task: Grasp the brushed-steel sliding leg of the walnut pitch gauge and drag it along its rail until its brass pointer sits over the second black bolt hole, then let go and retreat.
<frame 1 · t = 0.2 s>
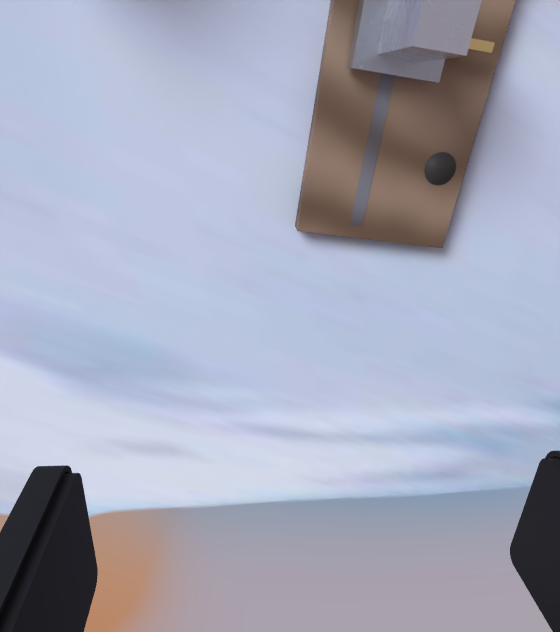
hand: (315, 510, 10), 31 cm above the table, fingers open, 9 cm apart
sliding leg: (444, 31, 28), point 6 cm above the table, slide at 0.0 cm
hole gauge board: (413, 24, 33), on the table
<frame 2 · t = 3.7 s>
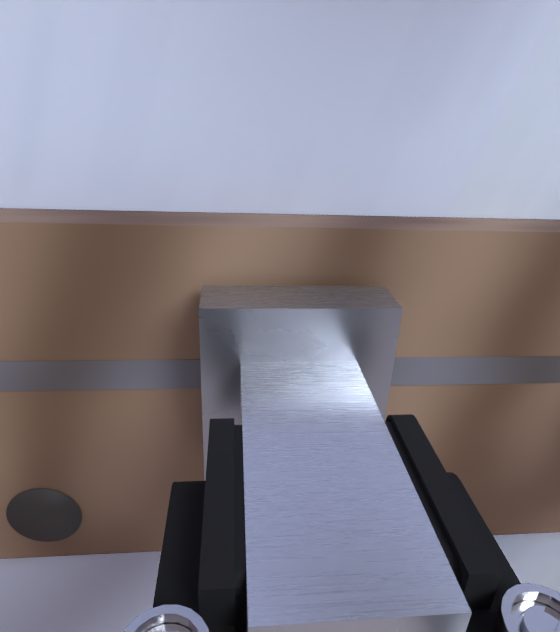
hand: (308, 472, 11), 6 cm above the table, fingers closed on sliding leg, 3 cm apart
sliding leg: (305, 528, 11), point 6 cm above the table, slide at 0.0 cm, touching gripper
hole gauge board: (310, 386, 17), on the table
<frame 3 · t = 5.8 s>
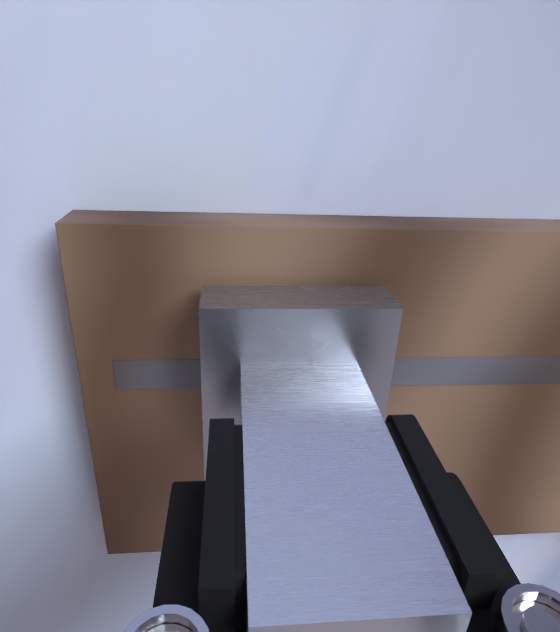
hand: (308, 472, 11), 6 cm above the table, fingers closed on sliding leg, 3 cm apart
sliding leg: (305, 528, 11), point 6 cm above the table, slide at 7.8 cm, touching gripper
hole gauge board: (523, 383, 17), on the table
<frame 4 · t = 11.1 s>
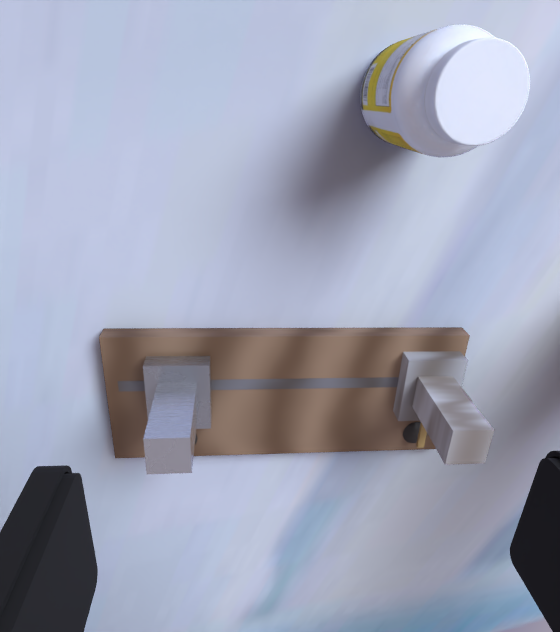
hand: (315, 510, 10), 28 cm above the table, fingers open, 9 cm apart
pill bottle: (402, 93, 33), on the table
sliding leg: (175, 434, 36), point 6 cm above the table, slide at 8.0 cm
hole gauge board: (286, 388, 42), on the table
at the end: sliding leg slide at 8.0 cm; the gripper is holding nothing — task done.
